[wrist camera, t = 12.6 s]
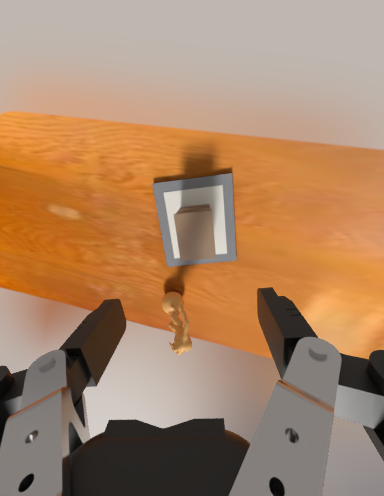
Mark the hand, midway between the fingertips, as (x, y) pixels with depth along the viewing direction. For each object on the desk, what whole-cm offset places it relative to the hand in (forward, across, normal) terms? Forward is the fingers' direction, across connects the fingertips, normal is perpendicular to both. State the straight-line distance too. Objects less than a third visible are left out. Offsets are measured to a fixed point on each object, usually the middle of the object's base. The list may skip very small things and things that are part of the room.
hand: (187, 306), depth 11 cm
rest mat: (+22, 0, 0) cm, 22 cm away
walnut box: (+21, 0, 0) cm, 21 cm away
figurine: (+22, +5, +14) cm, 27 cm away
